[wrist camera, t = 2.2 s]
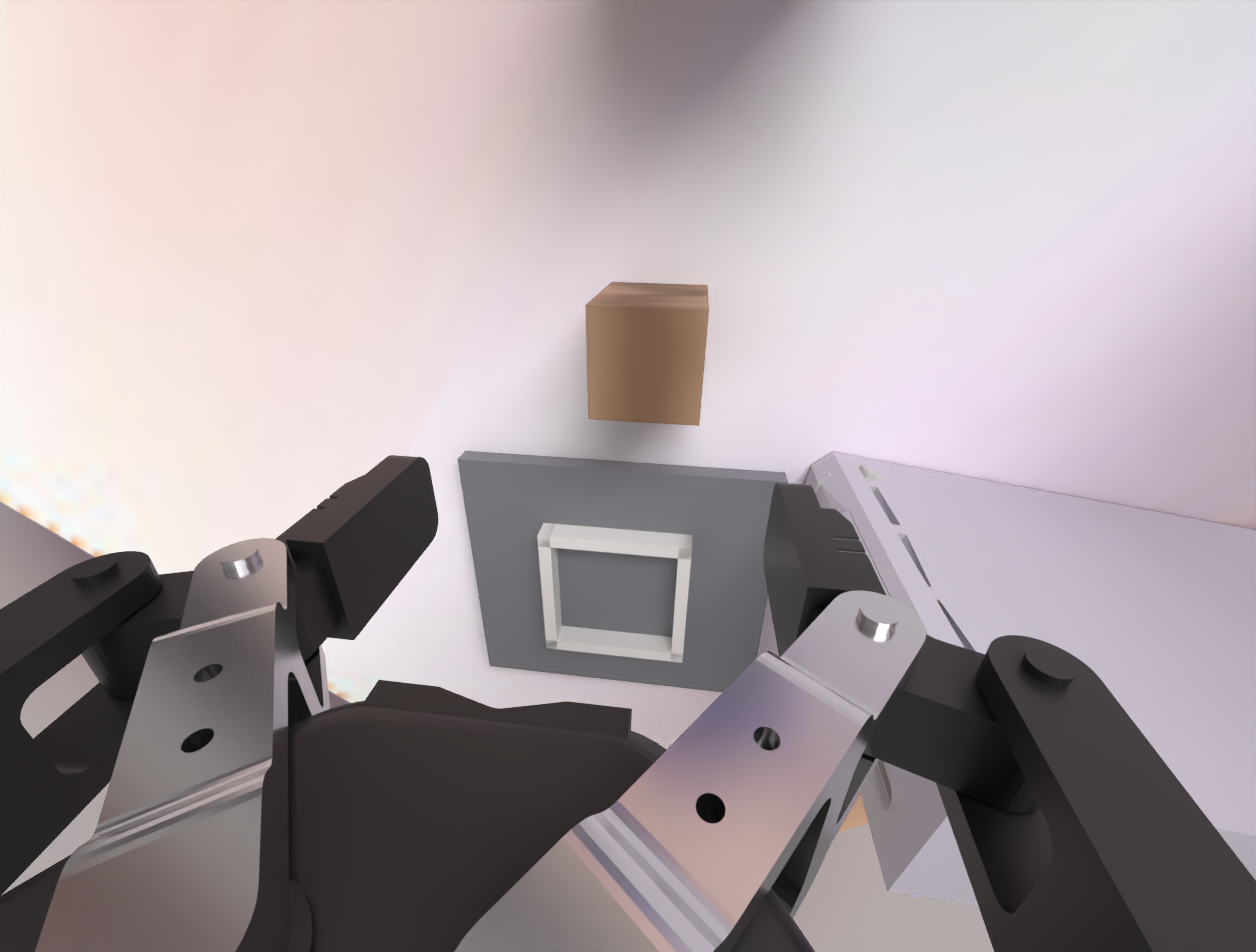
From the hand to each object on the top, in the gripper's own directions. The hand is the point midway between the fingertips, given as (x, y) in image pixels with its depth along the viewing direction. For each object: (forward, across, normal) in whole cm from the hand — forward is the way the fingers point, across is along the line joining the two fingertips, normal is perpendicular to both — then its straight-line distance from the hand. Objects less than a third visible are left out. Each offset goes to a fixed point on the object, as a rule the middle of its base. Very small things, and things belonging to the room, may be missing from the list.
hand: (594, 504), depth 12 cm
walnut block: (+19, 0, 0) cm, 19 cm away
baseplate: (+18, +2, +17) cm, 25 cm away
